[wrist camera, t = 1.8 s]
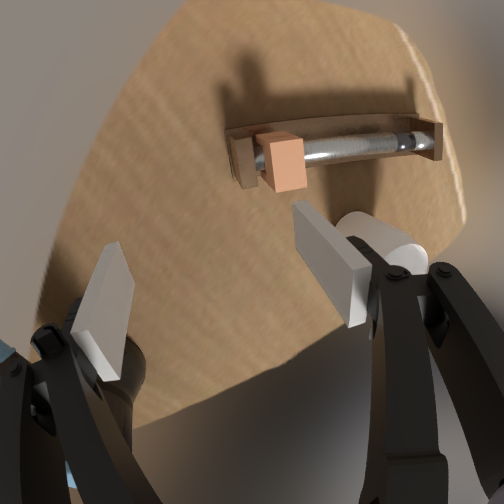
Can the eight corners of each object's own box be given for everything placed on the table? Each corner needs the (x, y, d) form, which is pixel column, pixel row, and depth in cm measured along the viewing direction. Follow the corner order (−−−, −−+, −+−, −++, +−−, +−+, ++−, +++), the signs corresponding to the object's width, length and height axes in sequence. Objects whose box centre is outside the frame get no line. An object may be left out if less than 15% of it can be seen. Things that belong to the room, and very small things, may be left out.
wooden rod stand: (233, 179, 35) (241, 194, 30) (224, 129, 32) (231, 135, 27) (416, 153, 38) (442, 163, 33) (416, 113, 35) (443, 119, 30)
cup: (338, 195, 39) (389, 235, 28) (387, 210, 41) (439, 249, 31) (315, 255, 42) (354, 307, 32) (364, 263, 45) (406, 310, 35)
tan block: (261, 176, 32) (275, 192, 27) (255, 134, 30) (269, 143, 25) (287, 171, 32) (307, 187, 27) (283, 130, 30) (302, 138, 25)
